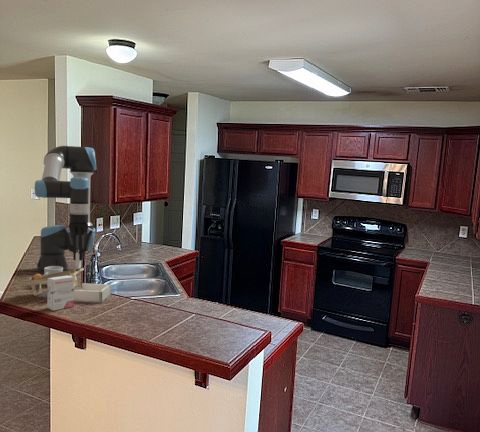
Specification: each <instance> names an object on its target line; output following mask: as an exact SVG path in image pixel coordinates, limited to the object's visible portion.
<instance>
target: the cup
mask: <svg viewBox="0 0 480 432" xmlns="http://www.w3.org/2000/svg"><path fill="white" fill-rule="evenodd" d="M59 272H64V271H63V267H61V266H49V267H45V268H44V273H43V275H42V276H45V275H50V274H54V273H59ZM45 285H46V286H48V282H46V283H45Z"/></svg>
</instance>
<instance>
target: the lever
mask: <svg viewBox="0 0 480 432" xmlns="http://www.w3.org/2000/svg"><path fill="white" fill-rule="evenodd" d="M84 269H85V268H84V267H80V268H73V269H68V270H67V271H63V272H59V273H54V274H50V275H45V276H43V275H41V276H42V278H39V279H34V275H33V276H31V277H29V278H28V282H29V286H30V287H31V289H32V290H31V291H32V294H33V296H34V297H35V296H38V295H40V294H42V293H43V288H42V284H46V282H48V278H53V277H60V276H67V275H68V276H72V277H74V288H75V287H76V286H78V285H79V282H78V277H77V274H79V273H81V272H82V271H85V270H84Z"/></svg>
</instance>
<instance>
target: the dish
mask: <svg viewBox="0 0 480 432" xmlns="http://www.w3.org/2000/svg"><path fill="white" fill-rule="evenodd" d="M111 295H112V284H108V283H107V284H106V283H105V284H103V283H84V282H82V283H81V288H80V289H74V302H75V303H76V302H78V303H79V302H80V303H98V304H99V303H100V304H102V303H103V302H105V301H106V300H107V299H108V298H109V297H110V296H111ZM106 298H107V299H106ZM105 299H106V300H105Z"/></svg>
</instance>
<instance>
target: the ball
mask: <svg viewBox="0 0 480 432" xmlns="http://www.w3.org/2000/svg"><path fill="white" fill-rule="evenodd" d="M33 276H34V279H39V278H42V276H43V275H42V274H40V273H36V274H34V275H33Z"/></svg>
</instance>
